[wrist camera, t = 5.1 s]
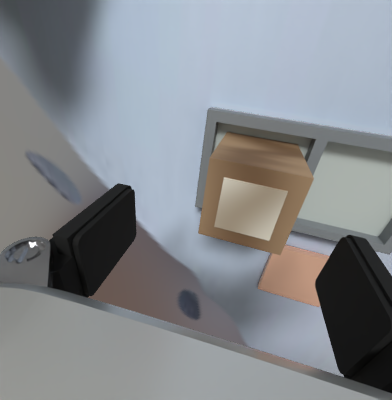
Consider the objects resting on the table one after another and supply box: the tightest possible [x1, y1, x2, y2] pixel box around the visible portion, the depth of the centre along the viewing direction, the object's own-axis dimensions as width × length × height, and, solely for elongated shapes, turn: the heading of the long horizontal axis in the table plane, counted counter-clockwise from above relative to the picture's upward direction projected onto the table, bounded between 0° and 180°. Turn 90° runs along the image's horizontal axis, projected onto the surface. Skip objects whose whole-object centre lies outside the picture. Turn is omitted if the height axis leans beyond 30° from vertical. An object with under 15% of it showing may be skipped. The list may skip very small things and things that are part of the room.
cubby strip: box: [195, 107, 392, 255], centre depth 16 cm, size 15×8×1 cm, turn 83°
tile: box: [258, 245, 330, 307], centre depth 21 cm, size 6×6×1 cm
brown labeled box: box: [198, 132, 314, 255], centre depth 14 cm, size 5×5×6 cm
